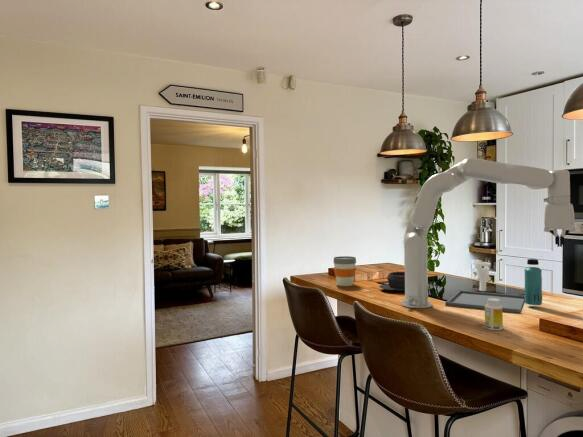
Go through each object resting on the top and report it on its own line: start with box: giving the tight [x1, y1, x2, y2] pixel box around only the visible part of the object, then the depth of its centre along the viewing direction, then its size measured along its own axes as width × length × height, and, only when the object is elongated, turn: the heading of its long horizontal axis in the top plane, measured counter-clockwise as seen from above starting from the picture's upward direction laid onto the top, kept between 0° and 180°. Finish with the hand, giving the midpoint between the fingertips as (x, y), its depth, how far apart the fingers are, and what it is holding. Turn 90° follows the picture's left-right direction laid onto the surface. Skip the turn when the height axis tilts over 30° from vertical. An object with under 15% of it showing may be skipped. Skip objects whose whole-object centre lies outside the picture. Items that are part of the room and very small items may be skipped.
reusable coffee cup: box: [333, 255, 357, 287], centre depth 231 cm, size 13×13×15 cm
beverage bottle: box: [523, 258, 543, 306], centre depth 173 cm, size 6×7×20 cm
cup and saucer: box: [378, 271, 405, 293], centre depth 213 cm, size 25×19×8 cm
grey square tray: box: [445, 289, 525, 314], centre depth 183 cm, size 28×28×2 cm
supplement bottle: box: [484, 298, 504, 331], centre depth 145 cm, size 6×6×10 cm
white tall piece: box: [474, 259, 492, 292], centre depth 207 cm, size 7×7×15 cm
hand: (559, 246), depth 167 cm, fingers closed
